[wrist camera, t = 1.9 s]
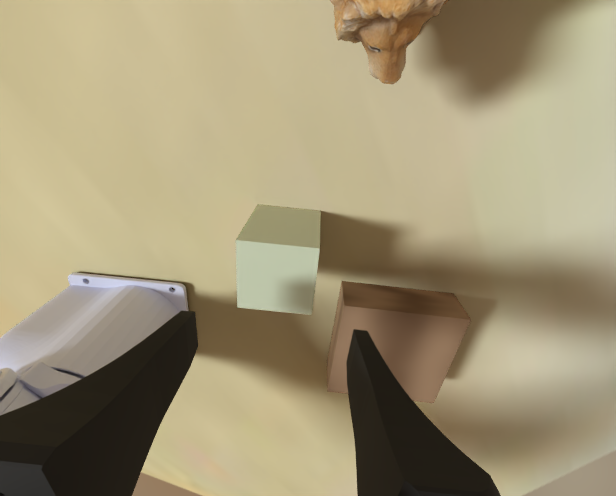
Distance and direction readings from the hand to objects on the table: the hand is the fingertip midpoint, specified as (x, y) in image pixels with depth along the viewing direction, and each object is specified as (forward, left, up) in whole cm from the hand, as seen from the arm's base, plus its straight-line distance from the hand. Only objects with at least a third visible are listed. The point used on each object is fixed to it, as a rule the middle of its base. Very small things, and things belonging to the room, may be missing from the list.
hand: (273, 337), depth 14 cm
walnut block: (+9, -7, -10) cm, 15 cm away
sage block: (0, +1, -10) cm, 10 cm away
